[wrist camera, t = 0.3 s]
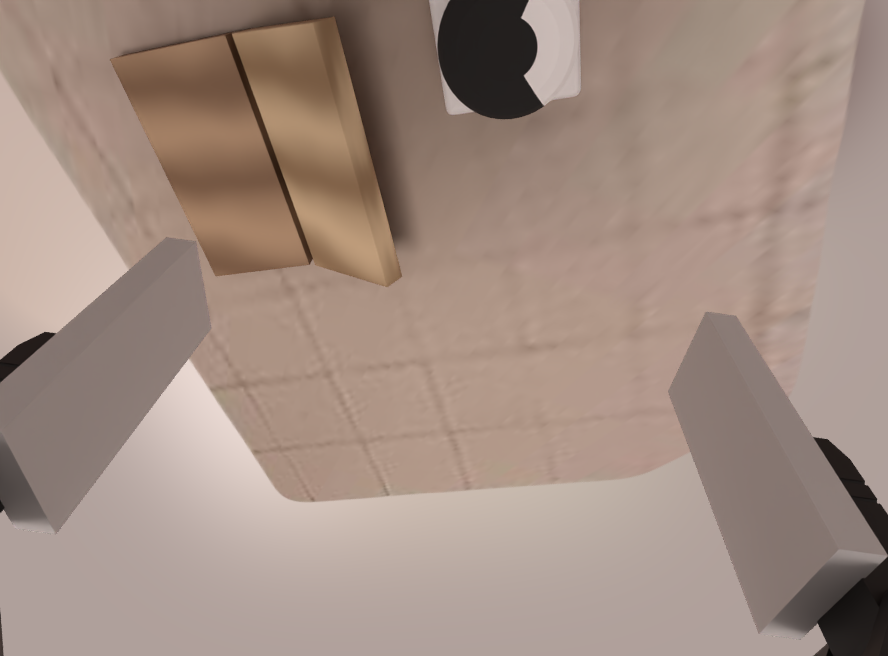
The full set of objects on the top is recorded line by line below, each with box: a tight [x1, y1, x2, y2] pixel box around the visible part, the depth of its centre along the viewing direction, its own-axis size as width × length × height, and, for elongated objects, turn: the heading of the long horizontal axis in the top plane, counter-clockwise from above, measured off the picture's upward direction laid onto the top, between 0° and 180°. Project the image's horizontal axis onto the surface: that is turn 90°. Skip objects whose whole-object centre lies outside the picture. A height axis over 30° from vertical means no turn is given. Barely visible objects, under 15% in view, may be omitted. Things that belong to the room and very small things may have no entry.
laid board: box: [110, 28, 313, 276], centre depth 38 cm, size 16×9×2 cm, turn 10°
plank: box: [232, 17, 402, 287], centre depth 35 cm, size 16×8×2 cm
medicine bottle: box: [429, 0, 581, 119], centre depth 27 cm, size 7×7×12 cm
